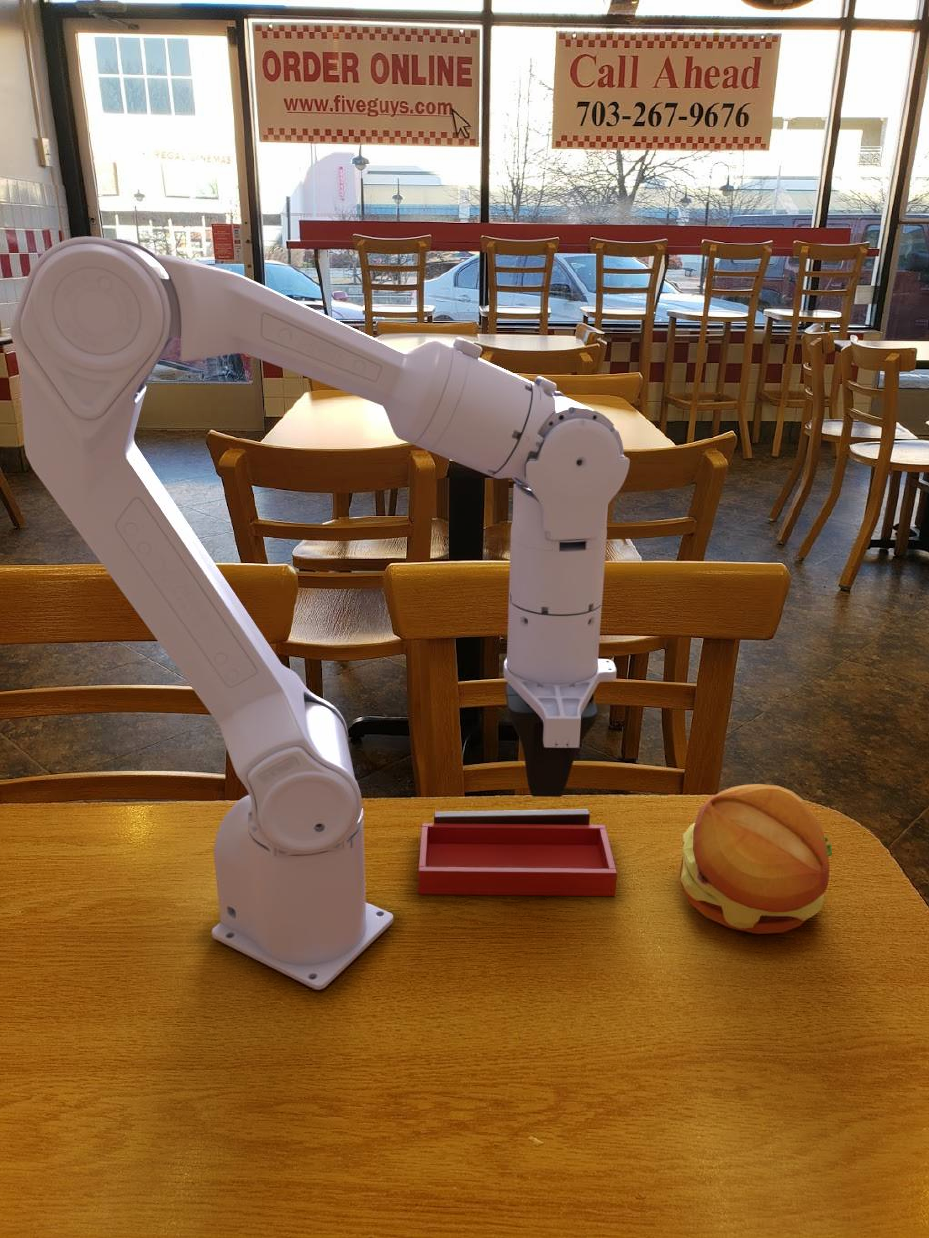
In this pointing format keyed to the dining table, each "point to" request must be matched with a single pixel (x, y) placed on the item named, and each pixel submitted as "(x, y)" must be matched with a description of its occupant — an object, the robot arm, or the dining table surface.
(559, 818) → the back rail
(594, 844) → the tray
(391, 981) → the dining table surface
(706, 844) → the cheeseburger
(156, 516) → the robot arm
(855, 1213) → the dining table surface
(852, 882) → the dining table surface
